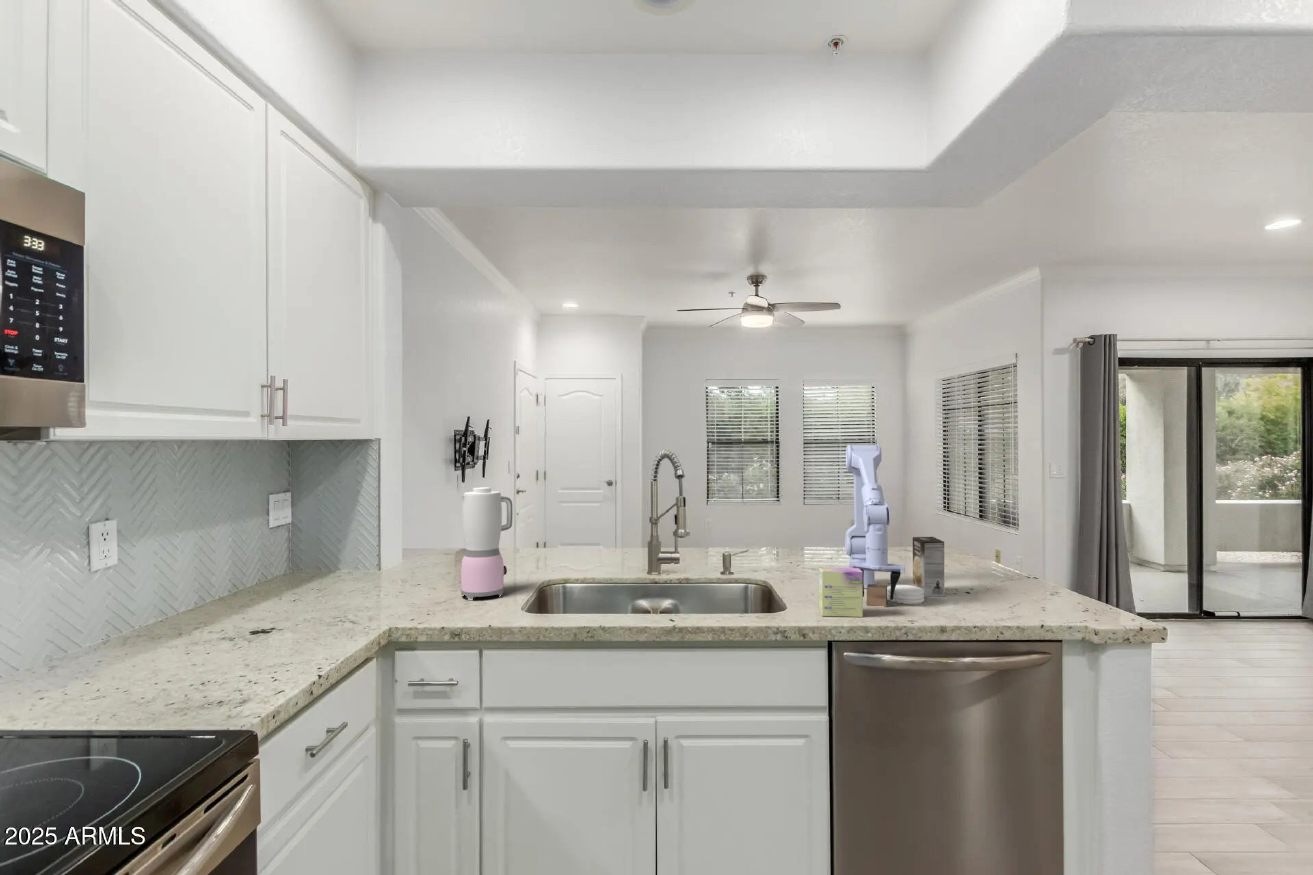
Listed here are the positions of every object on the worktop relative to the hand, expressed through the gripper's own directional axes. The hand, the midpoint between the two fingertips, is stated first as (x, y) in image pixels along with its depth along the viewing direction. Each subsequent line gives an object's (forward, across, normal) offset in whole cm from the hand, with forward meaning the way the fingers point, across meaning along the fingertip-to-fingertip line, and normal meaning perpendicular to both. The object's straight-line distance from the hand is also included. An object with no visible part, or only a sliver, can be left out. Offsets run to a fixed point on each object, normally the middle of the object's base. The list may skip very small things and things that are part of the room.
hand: (877, 597), depth 182 cm
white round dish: (+2, +7, +8) cm, 11 cm away
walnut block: (+2, 0, 0) cm, 2 cm away
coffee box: (+2, +13, +19) cm, 23 cm away
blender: (+2, -108, -30) cm, 112 cm away
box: (+2, -8, -14) cm, 16 cm away
